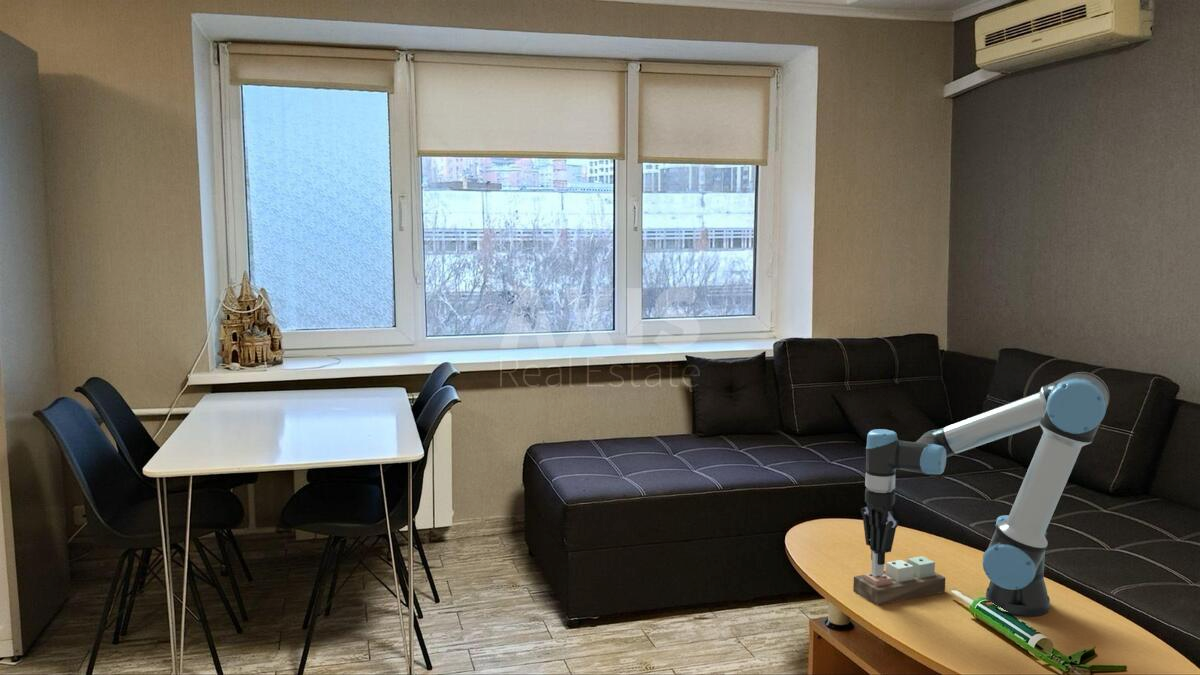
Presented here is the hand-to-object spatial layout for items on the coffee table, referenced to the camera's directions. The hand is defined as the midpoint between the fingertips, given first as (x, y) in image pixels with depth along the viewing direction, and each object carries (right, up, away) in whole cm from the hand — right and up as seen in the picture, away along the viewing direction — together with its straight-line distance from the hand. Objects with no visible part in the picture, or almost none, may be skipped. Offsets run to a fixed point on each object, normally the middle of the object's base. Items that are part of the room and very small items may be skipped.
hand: (877, 574), depth 241 cm
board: (+7, -5, +3) cm, 9 cm away
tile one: (+13, -2, +5) cm, 14 cm away
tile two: (+7, -3, +3) cm, 8 cm away
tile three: (0, -5, +1) cm, 6 cm away
